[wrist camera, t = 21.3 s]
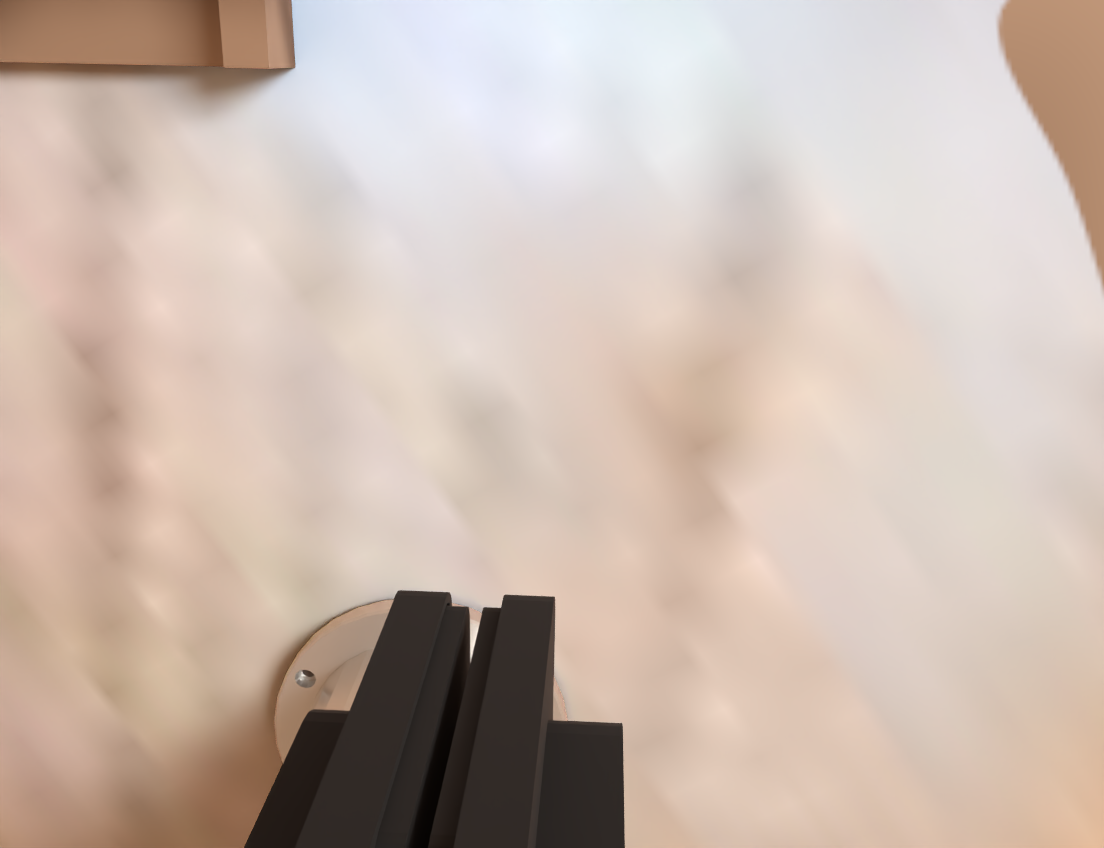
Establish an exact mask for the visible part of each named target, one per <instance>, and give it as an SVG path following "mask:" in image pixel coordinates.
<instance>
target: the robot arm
mask: <svg viewBox="0 0 1104 848" xmlns="http://www.w3.org/2000/svg"><path fill="white" fill-rule="evenodd" d="M554 642H555V597H546V596H522V595H504V597H503V602H502V607H501V608H487V607H484V608H483V611H482V613H481V612H478V611H476V610H474V609H472V608H469V607H466V606H462V605H458V604H454V603H452V600H451V595H450V592H426V591H402V590H400V591H398V592H397V594H396V595H395V598H394V599H393V600H384V601H380V602H376V603H372V604H369V605H365V606H361V607H358V608H356V609H354V610H352V611H349V612H347V613H345V614H343V615H341V616H339V617H337V618H335V619H333V620H332V621H331V622H329V623H328V624H327V625H325V626H324V627H323V628H321V629H320V630H319V631H318V632H316V633H315V634H314V635H313V636H312V637H311V638H310V639H309V640H308V642H307V643H306V644H305V645H304V646H303V647H302V649H301V650H300V651H299V652H298V653H297V655H296V657H295V659H294V661H293V662H292V664H291V666H290V668H289V669H288V671H287V673H286V675H285V678H284V680H283V683H282V685H281V688H280V691H279V693H278V696H277V702H276V709H275V716H274V725H275V737H276V745H277V748H278V751H279V755H280V758H281V761H282V764H283V765H282V767H281V769H280V771H279V773H278V775H277V778H276V780H275V782H274V784H273V786H272V788H271V791H270V793H269V795H268V797H267V799H266V801H265V804H264V806H263V808H262V810H261V812H260V814H259V816H258V819H257V821H256V823H255V825H254V827H253V829H252V832H251V834H250V836H249V838H248V840H247V842H246V845H245V847H244V848H625V840H624V777H623V726H622V723H601V722H580V721H568V719H567V714H566V709H565V703H564V698H563V696H562V694H561V691H560V689H559V687H558V685H557V682H556V680H555V678H554Z"/></svg>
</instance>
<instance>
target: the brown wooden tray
mask: <svg viewBox="0 0 1104 848" xmlns="http://www.w3.org/2000/svg"><path fill="white" fill-rule="evenodd" d="M0 62H30V63H78V64H125V65H173V66H221V67H224V68H260V69H274V68H295V55H294V38H293V21H292V4H291V0H0Z"/></svg>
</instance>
